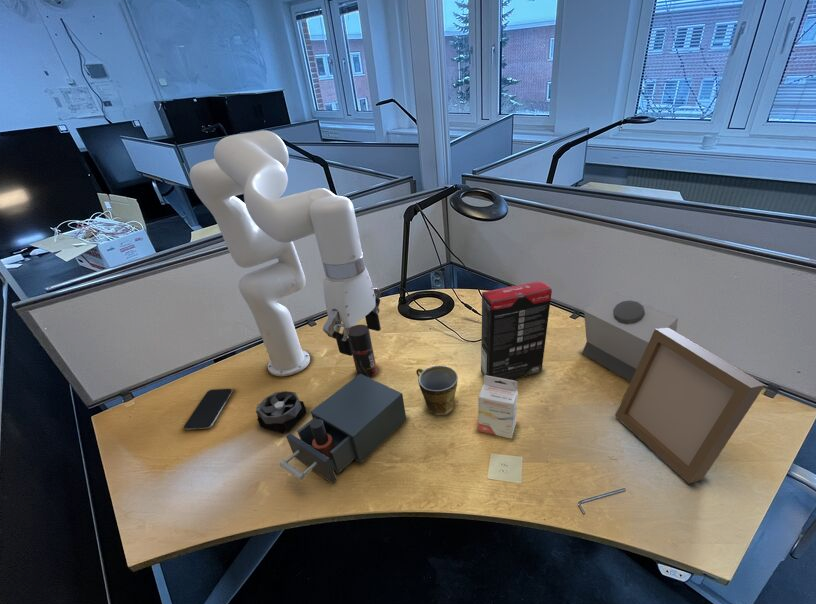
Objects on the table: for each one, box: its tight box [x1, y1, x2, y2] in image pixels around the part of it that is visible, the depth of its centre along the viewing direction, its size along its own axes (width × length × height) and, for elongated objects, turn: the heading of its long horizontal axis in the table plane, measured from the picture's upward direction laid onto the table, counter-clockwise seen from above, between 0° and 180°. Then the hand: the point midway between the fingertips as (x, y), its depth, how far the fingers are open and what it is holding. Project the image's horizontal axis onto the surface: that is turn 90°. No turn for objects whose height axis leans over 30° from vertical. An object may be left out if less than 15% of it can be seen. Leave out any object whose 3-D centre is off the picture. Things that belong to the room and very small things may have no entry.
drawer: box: [279, 417, 357, 484], centre depth 95 cm, size 20×13×7 cm, turn 145°
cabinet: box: [310, 374, 407, 464], centre depth 101 cm, size 17×15×9 cm
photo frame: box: [614, 328, 766, 484], centre depth 89 cm, size 15×22×25 cm
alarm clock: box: [581, 288, 679, 382], centre depth 114 cm, size 20×16×20 cm
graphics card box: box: [480, 280, 553, 383], centre depth 111 cm, size 17×7×27 cm, turn 108°
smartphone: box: [183, 388, 233, 431], centre depth 113 cm, size 7×1×15 cm
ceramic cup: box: [416, 365, 459, 416], centre depth 107 cm, size 13×10×10 cm
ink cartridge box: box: [477, 375, 519, 439], centre depth 97 cm, size 9×5×15 cm, turn 71°
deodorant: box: [347, 324, 378, 378], centre depth 119 cm, size 6×6×15 cm
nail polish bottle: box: [310, 419, 335, 460], centre depth 93 cm, size 4×4×10 cm
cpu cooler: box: [255, 390, 307, 435], centre depth 107 cm, size 10×6×10 cm
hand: (361, 341), depth 87 cm, fingers open, 9 cm apart
